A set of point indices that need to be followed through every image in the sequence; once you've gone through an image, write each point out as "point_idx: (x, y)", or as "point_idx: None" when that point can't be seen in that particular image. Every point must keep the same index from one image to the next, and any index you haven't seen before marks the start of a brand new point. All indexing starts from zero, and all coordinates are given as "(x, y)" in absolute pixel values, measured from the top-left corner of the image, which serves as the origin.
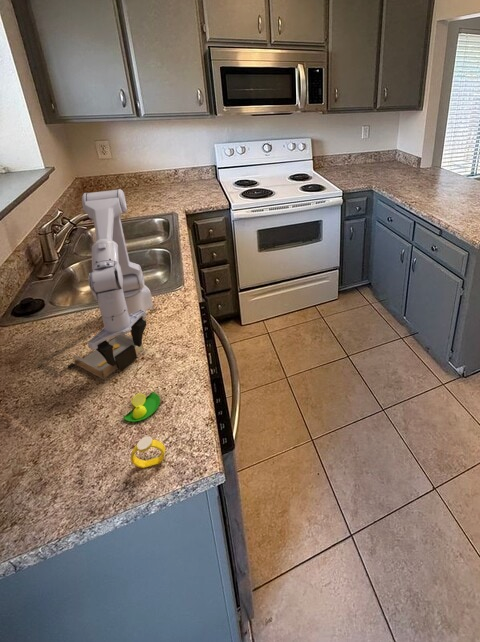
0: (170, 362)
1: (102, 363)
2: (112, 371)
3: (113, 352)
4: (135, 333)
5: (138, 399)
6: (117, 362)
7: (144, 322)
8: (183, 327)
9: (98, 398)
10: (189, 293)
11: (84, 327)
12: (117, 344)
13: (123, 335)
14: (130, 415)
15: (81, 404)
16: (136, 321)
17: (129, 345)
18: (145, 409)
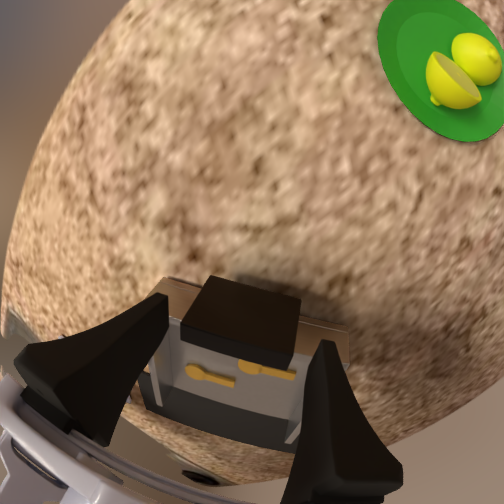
0: (169, 109)
1: (279, 373)
2: (307, 324)
3: (220, 367)
4: (120, 368)
5: (460, 76)
6: (295, 336)
7: (20, 368)
8: (42, 212)
9: (427, 286)
10: (4, 282)
11: (185, 434)
12: (188, 372)
13: (156, 379)
14: (485, 97)
15: (445, 319)
16: (52, 422)
17: (172, 338)
18: (467, 33)
